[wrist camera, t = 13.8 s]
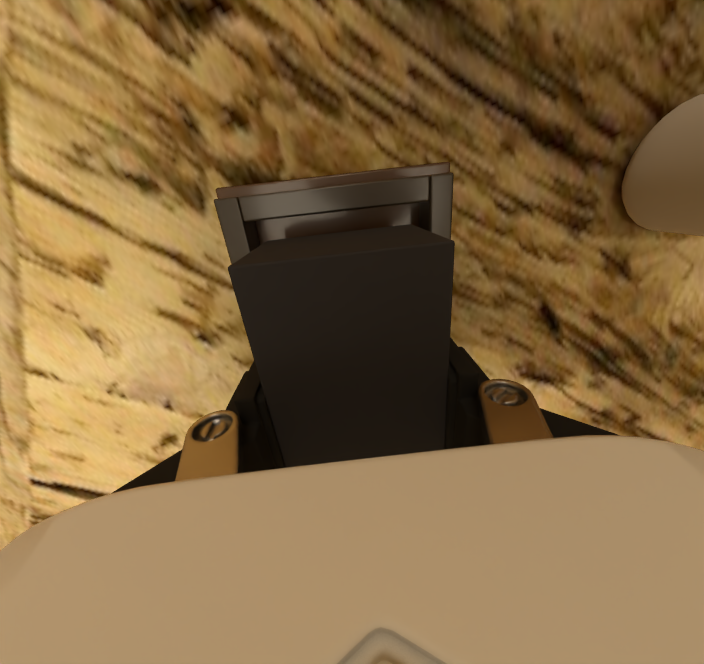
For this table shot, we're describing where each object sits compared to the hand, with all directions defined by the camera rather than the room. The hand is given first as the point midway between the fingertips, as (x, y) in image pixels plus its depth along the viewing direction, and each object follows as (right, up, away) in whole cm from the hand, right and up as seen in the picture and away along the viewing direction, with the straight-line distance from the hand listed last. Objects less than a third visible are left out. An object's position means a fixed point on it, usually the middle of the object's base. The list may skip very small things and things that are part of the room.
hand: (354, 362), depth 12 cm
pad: (0, 0, 0) cm, 0 cm away
